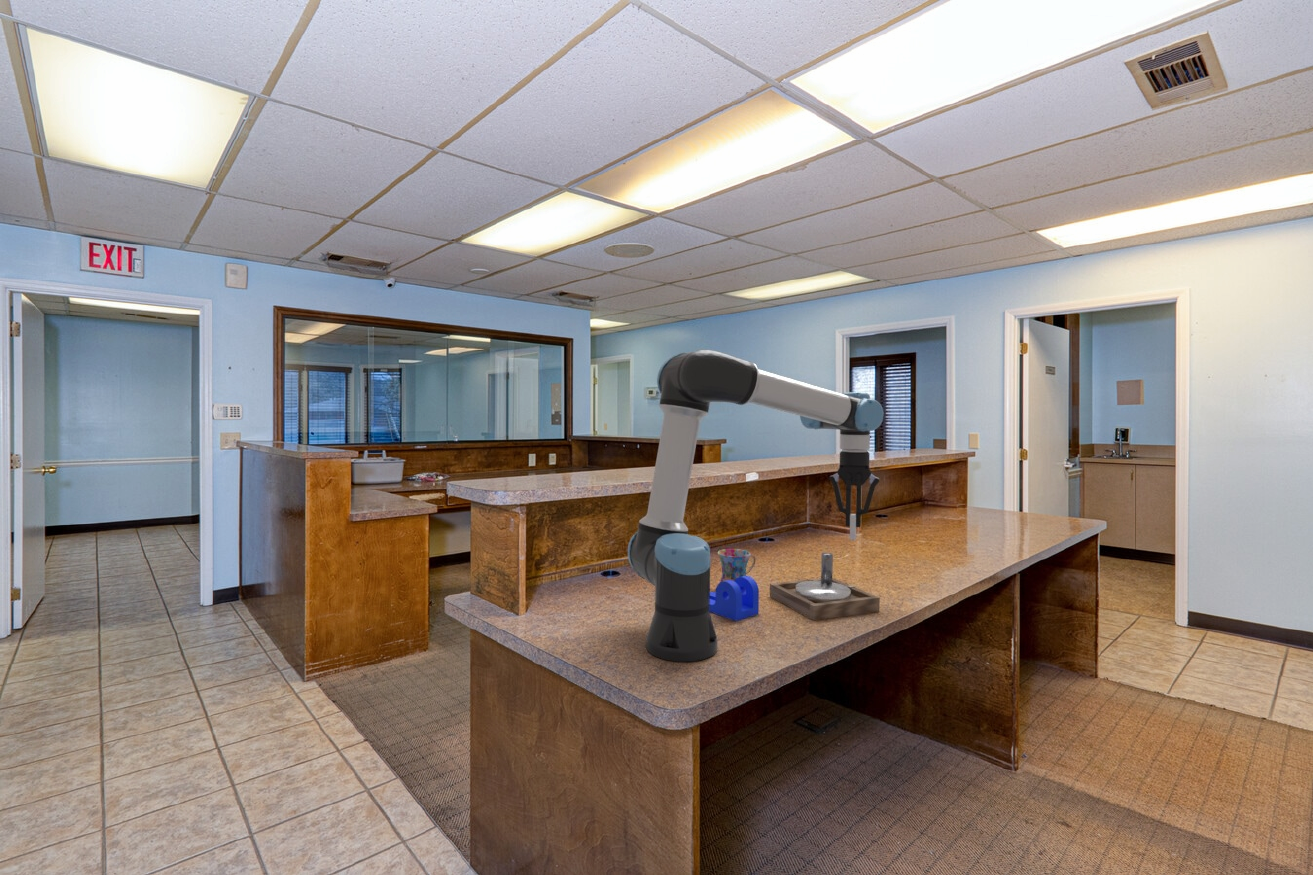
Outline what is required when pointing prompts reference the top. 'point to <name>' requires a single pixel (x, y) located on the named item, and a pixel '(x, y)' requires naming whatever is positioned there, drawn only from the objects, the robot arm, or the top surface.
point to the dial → (823, 585)
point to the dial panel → (816, 611)
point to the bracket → (735, 598)
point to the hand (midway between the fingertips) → (852, 538)
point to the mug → (734, 563)
